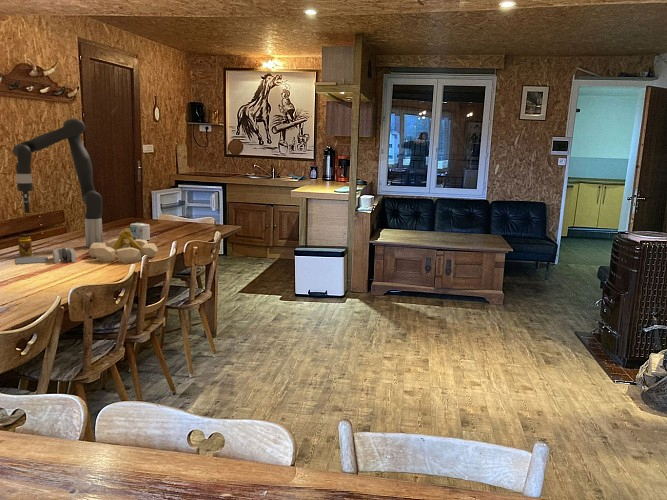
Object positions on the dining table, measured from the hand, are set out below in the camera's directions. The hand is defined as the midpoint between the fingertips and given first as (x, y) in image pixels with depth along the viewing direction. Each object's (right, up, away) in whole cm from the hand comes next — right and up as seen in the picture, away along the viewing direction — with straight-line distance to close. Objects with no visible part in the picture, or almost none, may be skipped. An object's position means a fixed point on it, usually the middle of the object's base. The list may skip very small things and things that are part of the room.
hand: (27, 211), depth 297 cm
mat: (+9, -27, -11) cm, 30 cm away
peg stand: (+25, -27, -9) cm, 38 cm away
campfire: (+50, -25, +8) cm, 56 cm away
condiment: (-1, -24, -1) cm, 24 cm away
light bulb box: (+42, -15, +55) cm, 71 cm away
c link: (+23, -26, -6) cm, 36 cm away
